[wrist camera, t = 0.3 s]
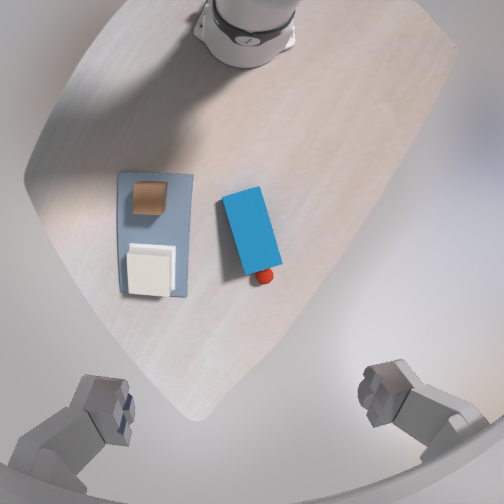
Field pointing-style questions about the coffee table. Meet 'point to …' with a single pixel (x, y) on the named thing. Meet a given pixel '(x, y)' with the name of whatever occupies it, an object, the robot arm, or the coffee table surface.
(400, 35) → the coffee table surface
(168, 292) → the base block
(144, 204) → the walnut cube
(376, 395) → the robot arm
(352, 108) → the coffee table surface
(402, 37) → the coffee table surface
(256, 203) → the lever
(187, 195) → the board
